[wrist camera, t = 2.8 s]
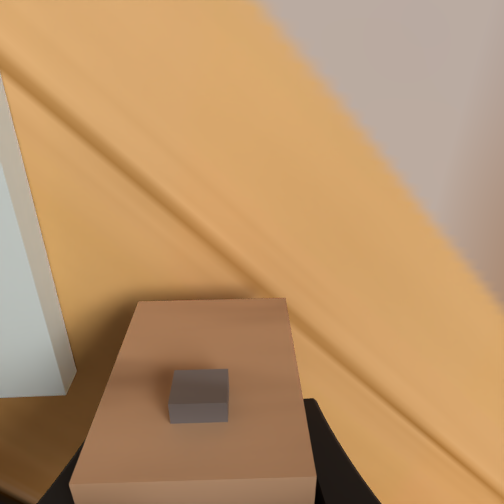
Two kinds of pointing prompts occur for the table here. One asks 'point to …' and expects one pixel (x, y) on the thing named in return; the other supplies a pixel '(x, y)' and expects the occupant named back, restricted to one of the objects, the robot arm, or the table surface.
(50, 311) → the wall board
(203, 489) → the cabinet block
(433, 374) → the table surface
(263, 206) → the table surface
